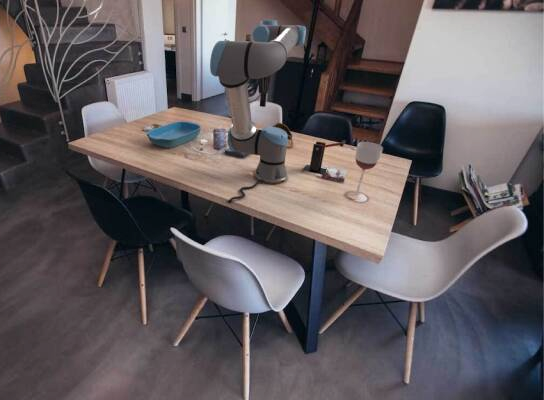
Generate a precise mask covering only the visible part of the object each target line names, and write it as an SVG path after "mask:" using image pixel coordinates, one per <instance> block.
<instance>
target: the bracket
mask: <svg viewBox="0 0 544 400" xmlns="http://www.w3.org/2000/svg"><path fill="white" fill-rule="evenodd" d="M318 144H322V145H318ZM323 145H327V143H326V142H323V141H315V143H313V146H312V150H311V151H312V152H311V157H310V164H305V166H304V167H303V168H302V169H301V171H305V172H308V173H312V174H316V175H320V176H325V174H326V173H327V172H326V170H327V168H324V167H322V165H323V160H324V155H325V149H326V147H325V148H323ZM327 171H328V170H327Z"/></svg>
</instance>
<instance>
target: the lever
mask: <svg viewBox="0 0 544 400" xmlns="http://www.w3.org/2000/svg"><path fill="white" fill-rule="evenodd" d="M346 142H347V141H346V140H345V139H343V140H342V141H341V142H334V143H329V144H326V145H323V148H325V149H326V148H331V147H338V146H339V147H343V146H344V145H345V144H346ZM318 145H322V144H318Z"/></svg>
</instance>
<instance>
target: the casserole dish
mask: <svg viewBox="0 0 544 400" xmlns="http://www.w3.org/2000/svg"><path fill="white" fill-rule="evenodd" d="M201 129H202V125H200V124H198V123H197V122H193V121H185V120H182V121H181V120H178V121H173V122H170V123H167V124H164V125H161V126H158V127H155V128H152V129H149V130H147V131H146V136H147V138H148V140H149V142H150V143H151V144H153V145H154V146H157V147H161V148H164V149H173V148H176V147H179V146H181V145H184V144H185V143H188V142H191V141H193V140H194V139H196V138H198V137H199V135H200V134H201Z"/></svg>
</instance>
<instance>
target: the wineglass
mask: <svg viewBox="0 0 544 400" xmlns="http://www.w3.org/2000/svg"><path fill="white" fill-rule="evenodd" d="M355 149H356V150H355V157H354V158H355V163H356V165H357V166H358V167H359V168H360V169H361V173H360V177H359V181H358V185H357V189H356V192H355V195H356V196H358V197H357V199H355V198H351V197H348V196H347V197H346V198H347V199H349V200H350V201H353V202H358V203H363V202H367V201H368V197H367V196H366V195H365V194H363V193H361V192H360V189H361V185H362V182H363V178H364V174H365V172H366V171H367V170H371V169H372V168H374V167H375V166H376V165H377V164H378V162H379V160H380V158H381V155H382V153H383V151H384V147H383V146H382V145H381V144H378V143H375V142H371V141H359V142H358V143H357V145H356V148H355ZM359 192H360V193H359Z"/></svg>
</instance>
